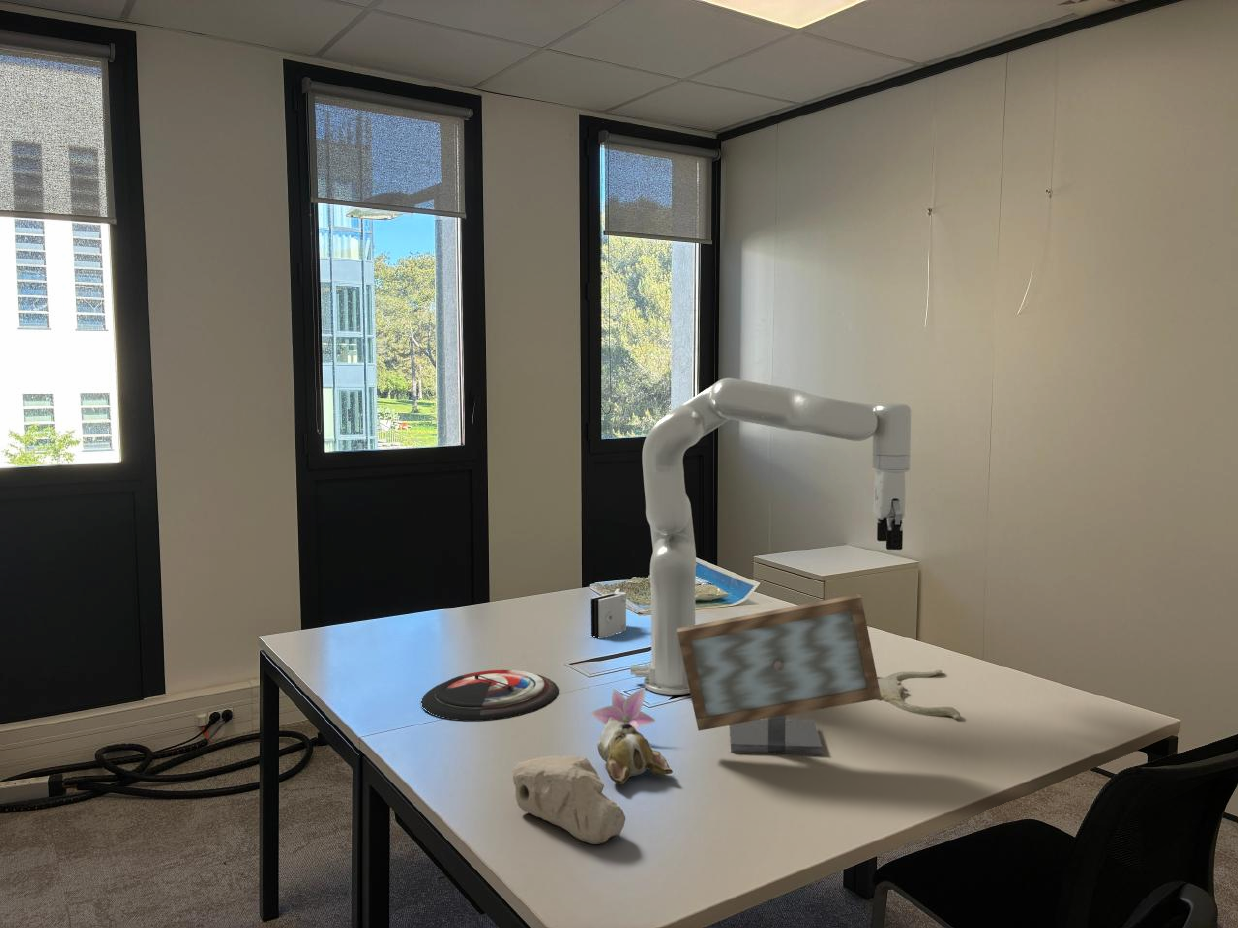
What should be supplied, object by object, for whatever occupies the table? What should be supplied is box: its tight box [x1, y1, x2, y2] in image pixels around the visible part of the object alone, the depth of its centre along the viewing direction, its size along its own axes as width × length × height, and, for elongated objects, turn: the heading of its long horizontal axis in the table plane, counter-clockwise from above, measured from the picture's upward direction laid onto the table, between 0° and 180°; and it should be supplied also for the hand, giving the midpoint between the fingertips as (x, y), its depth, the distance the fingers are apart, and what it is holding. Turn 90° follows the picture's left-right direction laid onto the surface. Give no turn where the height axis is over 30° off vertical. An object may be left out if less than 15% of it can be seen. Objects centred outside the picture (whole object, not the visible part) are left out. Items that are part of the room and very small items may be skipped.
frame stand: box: [729, 715, 823, 756], centre depth 171 cm, size 16×12×19 cm
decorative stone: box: [512, 754, 626, 845], centre depth 141 cm, size 20×8×10 cm, turn 46°
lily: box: [590, 688, 656, 732], centre depth 173 cm, size 11×11×9 cm
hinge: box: [590, 588, 627, 639], centre depth 243 cm, size 14×5×10 cm, turn 147°
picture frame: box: [677, 593, 881, 732], centre depth 163 cm, size 32×3×18 cm, turn 84°
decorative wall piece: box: [875, 669, 961, 720], centre depth 198 cm, size 30×3×30 cm
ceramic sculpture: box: [596, 717, 674, 785], centre depth 159 cm, size 11×9×15 cm
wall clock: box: [420, 669, 559, 721], centre depth 197 cm, size 27×5×30 cm
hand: (889, 545), depth 195 cm, fingers open, 9 cm apart
